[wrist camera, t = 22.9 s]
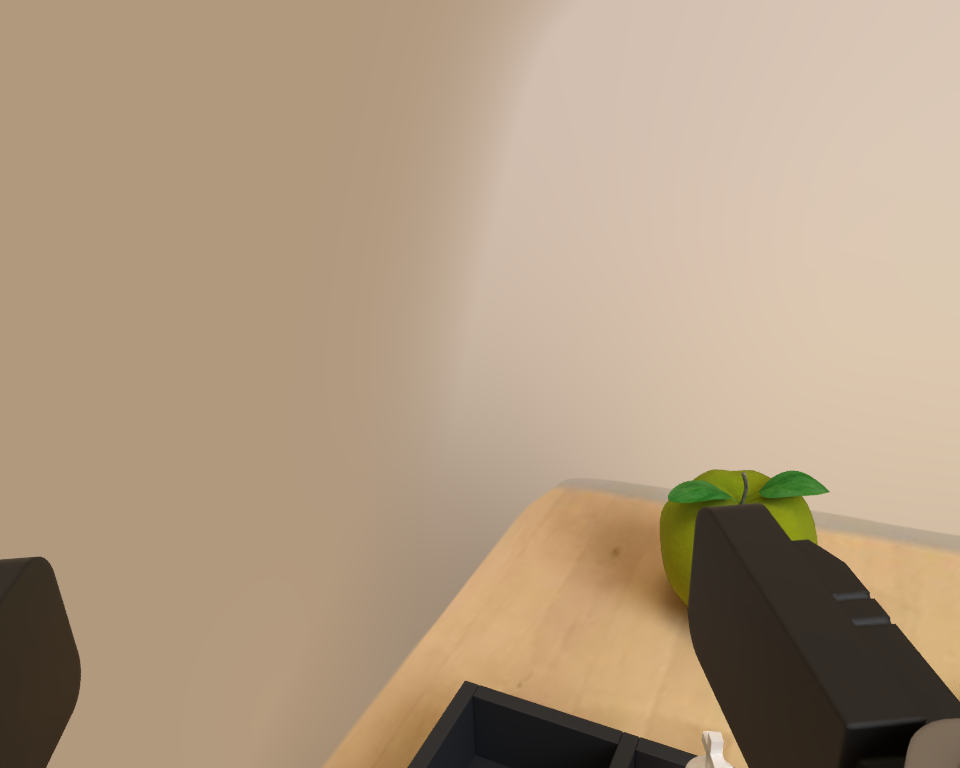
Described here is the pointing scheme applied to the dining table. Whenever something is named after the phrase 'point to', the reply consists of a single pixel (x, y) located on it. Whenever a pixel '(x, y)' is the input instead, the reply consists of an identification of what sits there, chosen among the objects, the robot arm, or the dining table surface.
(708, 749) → the chess piece
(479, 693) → the caddy
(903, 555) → the dining table surface
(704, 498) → the fruit
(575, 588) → the dining table surface
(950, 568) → the dining table surface
